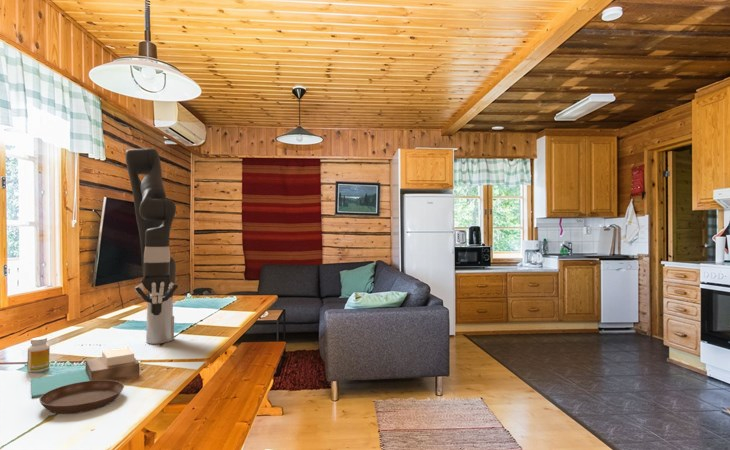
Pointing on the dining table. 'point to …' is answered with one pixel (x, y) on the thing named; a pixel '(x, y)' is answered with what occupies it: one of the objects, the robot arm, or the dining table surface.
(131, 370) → the bronze rectangular block
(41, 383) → the mat
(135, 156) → the robot arm
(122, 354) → the white block
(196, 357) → the dining table surface
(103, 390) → the plant saucer
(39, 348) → the supplement bottle
